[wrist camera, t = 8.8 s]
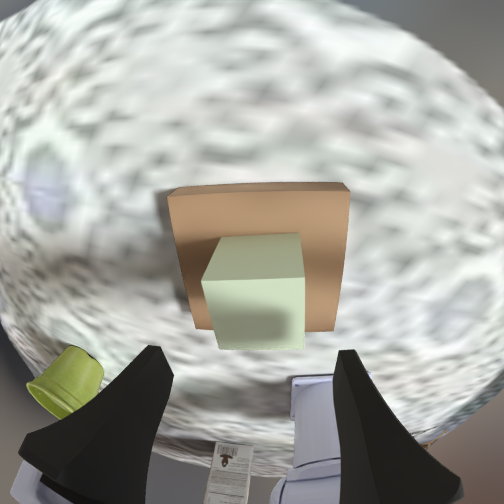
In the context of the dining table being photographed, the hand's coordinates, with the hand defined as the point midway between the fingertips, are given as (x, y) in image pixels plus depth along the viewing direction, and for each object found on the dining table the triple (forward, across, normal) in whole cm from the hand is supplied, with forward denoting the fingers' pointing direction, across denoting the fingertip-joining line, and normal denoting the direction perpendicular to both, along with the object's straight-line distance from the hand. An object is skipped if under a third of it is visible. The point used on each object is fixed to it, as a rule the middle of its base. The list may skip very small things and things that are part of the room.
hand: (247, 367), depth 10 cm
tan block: (+10, 0, 0) cm, 10 cm away
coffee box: (+9, +7, +38) cm, 40 cm away
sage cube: (+7, 0, 0) cm, 7 cm away
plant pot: (+9, +24, +15) cm, 30 cm away
